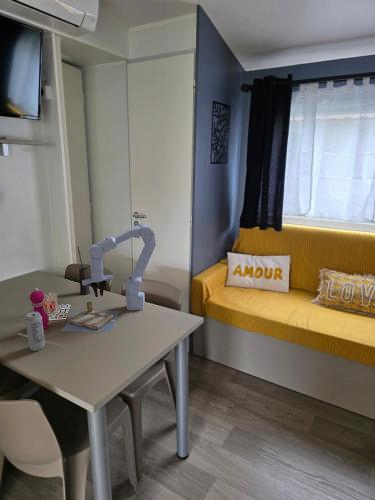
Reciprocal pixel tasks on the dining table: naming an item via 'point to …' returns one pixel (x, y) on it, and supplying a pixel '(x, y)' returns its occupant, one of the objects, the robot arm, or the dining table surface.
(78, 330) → the board
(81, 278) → the butter churn
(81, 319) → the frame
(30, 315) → the energy drink can
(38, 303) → the pepper mill
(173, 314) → the dining table surface
